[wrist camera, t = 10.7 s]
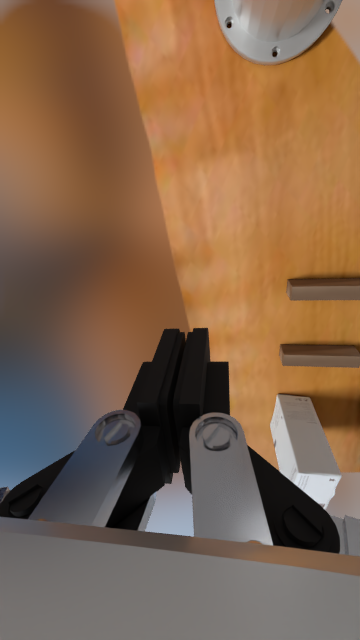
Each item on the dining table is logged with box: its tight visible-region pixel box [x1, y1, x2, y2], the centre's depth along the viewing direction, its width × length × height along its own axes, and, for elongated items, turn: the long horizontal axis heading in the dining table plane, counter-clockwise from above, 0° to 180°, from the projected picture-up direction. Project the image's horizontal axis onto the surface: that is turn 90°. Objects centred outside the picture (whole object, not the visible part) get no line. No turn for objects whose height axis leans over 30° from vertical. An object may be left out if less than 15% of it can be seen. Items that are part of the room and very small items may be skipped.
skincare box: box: [270, 394, 342, 509], centre depth 45 cm, size 8×6×15 cm
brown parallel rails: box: [279, 278, 360, 368], centre depth 41 cm, size 13×11×3 cm
